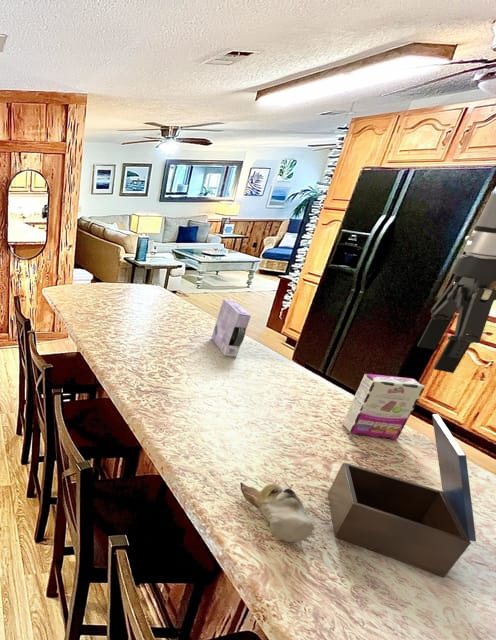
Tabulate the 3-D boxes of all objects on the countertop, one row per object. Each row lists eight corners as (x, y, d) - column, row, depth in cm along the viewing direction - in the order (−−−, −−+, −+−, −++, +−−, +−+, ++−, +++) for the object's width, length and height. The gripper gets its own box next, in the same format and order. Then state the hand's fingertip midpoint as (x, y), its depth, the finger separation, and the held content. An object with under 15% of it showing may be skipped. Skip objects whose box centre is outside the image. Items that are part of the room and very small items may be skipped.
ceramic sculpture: (276, 512, 69) (244, 460, 82) (262, 547, 72) (233, 492, 86) (342, 521, 67) (298, 467, 81) (324, 557, 71) (285, 499, 84)
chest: (334, 536, 75) (352, 503, 71) (327, 492, 85) (343, 461, 81) (444, 577, 68) (471, 543, 64) (421, 523, 78) (444, 491, 74)
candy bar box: (386, 429, 107) (414, 377, 100) (397, 440, 103) (427, 387, 96) (340, 423, 109) (364, 372, 102) (349, 433, 105) (375, 381, 98)
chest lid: (458, 455, 60) (466, 455, 60) (431, 414, 71) (438, 413, 70) (469, 541, 64) (476, 541, 63) (442, 489, 74) (448, 489, 74)
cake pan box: (238, 359, 147) (252, 314, 139) (224, 357, 147) (237, 313, 139) (222, 339, 164) (234, 299, 156) (210, 338, 164) (221, 298, 156)
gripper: (442, 245, 83) (398, 335, 93) (486, 265, 64) (425, 376, 74) (492, 249, 80) (441, 343, 89) (554, 271, 61) (480, 387, 70)
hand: (433, 358), depth 81 cm, fingers open, 13 cm apart
